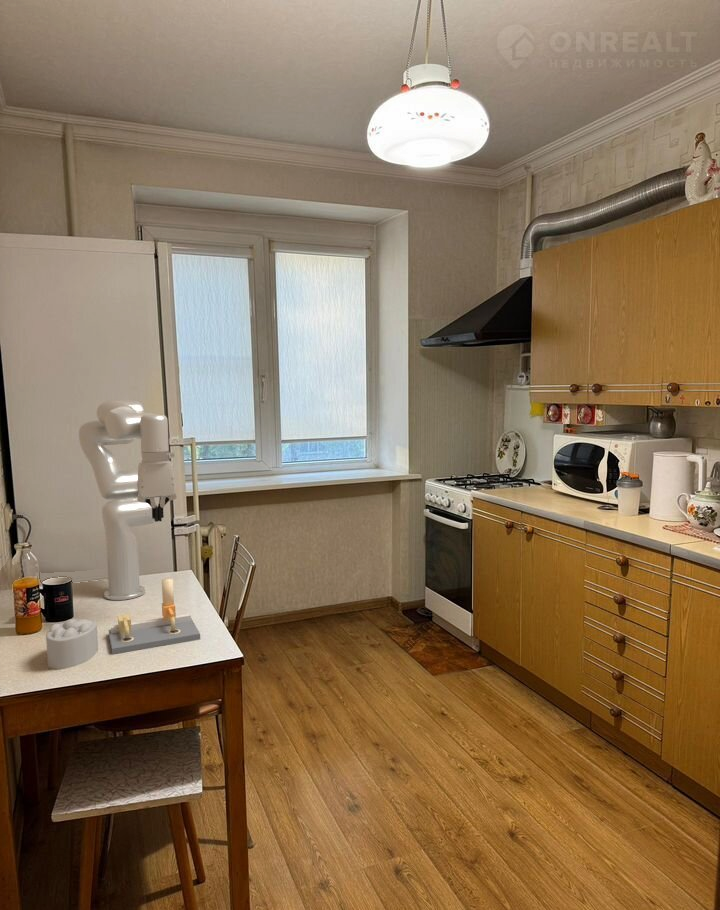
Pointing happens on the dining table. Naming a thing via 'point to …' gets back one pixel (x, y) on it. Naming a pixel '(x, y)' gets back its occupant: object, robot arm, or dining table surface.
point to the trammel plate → (150, 633)
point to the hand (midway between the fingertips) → (158, 520)
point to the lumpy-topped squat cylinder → (71, 643)
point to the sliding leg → (168, 602)
